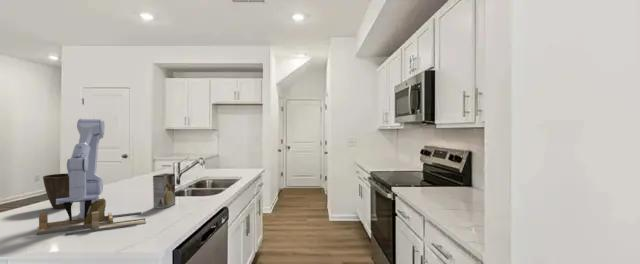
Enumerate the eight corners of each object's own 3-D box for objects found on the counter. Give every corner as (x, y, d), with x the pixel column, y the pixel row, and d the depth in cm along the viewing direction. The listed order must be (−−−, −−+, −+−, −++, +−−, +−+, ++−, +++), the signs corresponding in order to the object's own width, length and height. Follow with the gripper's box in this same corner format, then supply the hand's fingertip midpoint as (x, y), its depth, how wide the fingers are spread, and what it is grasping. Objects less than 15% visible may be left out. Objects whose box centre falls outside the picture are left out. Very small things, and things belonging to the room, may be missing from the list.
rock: (89, 221, 143) (113, 213, 152) (79, 204, 145) (104, 196, 153) (79, 234, 148) (104, 225, 157) (70, 217, 150) (95, 209, 158)
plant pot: (38, 208, 176) (37, 175, 176) (72, 202, 189) (72, 172, 188) (50, 212, 168) (49, 178, 167) (85, 206, 180) (85, 174, 180)
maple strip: (91, 227, 144) (91, 211, 144) (144, 220, 155) (144, 205, 155) (92, 230, 141) (91, 214, 140) (145, 223, 151) (145, 207, 151)
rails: (40, 225, 146) (40, 224, 146) (140, 213, 167) (140, 211, 167) (34, 239, 130) (34, 237, 130) (147, 223, 150) (147, 222, 150)
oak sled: (40, 226, 146) (39, 211, 145) (111, 217, 159) (111, 203, 159) (37, 234, 136) (36, 217, 136) (113, 224, 150) (113, 209, 149)
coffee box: (164, 203, 187) (164, 173, 187) (175, 204, 186) (175, 173, 185) (152, 207, 178) (152, 175, 178) (164, 208, 177) (164, 176, 176)
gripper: (55, 189, 140) (55, 224, 140) (98, 186, 148) (99, 219, 148) (56, 187, 146) (56, 220, 146) (98, 184, 154) (98, 215, 154)
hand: (78, 219), depth 148 cm, fingers open, 4 cm apart
